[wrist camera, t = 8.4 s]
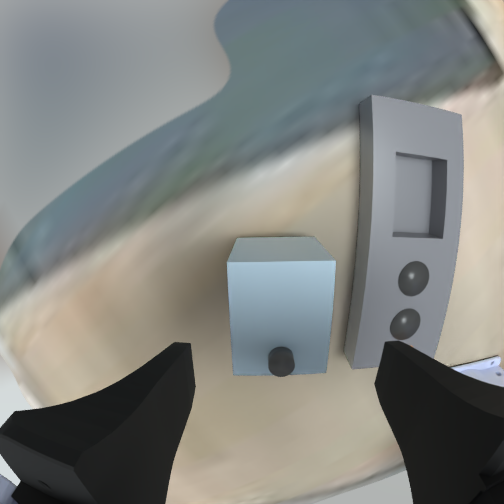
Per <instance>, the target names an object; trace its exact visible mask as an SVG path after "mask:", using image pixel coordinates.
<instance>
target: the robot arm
mask: <svg viewBox="0 0 504 504" xmlns="http://www.w3.org/2000/svg"><path fill="white" fill-rule="evenodd" d="M500 361H501V358H500V357H499V356H496V357H493V358H489V359H485V360H481V361H477V362H473V363H469V364H465V365H460V366H456V367H451V368H450V367H448V366H446V365H444V364H442V363H440V362H438V361H436V360H435V359H433V358H431V357H429V356H427V355H426V354H424V353H422V352H420V351H419V350H417V349H415V348H413V347H411V346H410V345H408V344H406V343H404V342H401V341H399V340H397V341H386V342H385V343H384V348H383V352H382V356H381V360H380V364H379V368H378V372H377V376H376V380H375V388H376V391H377V395H378V398H379V402H380V405H381V407H382V409H383V412H384V414H385V416H386V418H387V420H388V423H389V425H390V427H391V429H392V431H393V434H394V436H395V438H396V440H397V442H398V445H399V447H400V450H401V452H402V455H403V459H404V462H405V466H406V470H407V473H408V478H409V482H410V487H411V492H412V498H413V504H504V370H503V369H502V368H501V367H500V366H499V364H500ZM195 387H196V386H195V378H194V369H193V360H192V351H191V343H179V342H174V343H173V344H171V345H170V346H169V347H167V348H166V349H165V350H163V351H162V352H161V353H159V354H158V355H157V356H155V357H154V358H153V359H151V360H150V361H149V362H147V363H146V364H145V365H143V366H142V367H140V368H139V369H137V370H136V371H134V372H133V373H131V374H129V375H128V376H126V377H125V378H123V379H121V380H120V381H118V382H116V383H114V384H112V385H110V386H108V387H106V388H104V389H102V390H100V391H98V392H96V393H93V394H90V395H88V396H85V397H82V398H80V399H77V400H74V401H71V402H67V403H64V404H60V405H55V406H51V407H46V408H40V409H32V410H23V411H15V412H14V413H13V414H12V415H11V416H10V417H9V418H8V419H7V421H6V422H5V423H4V424H3V425H2V426H1V428H0V454H1V456H2V457H3V459H4V460H5V461H6V463H7V464H8V465H9V466H10V468H11V469H12V470H13V472H14V473H15V474H16V475H17V477H18V478H19V479H20V480H21V481H20V483H19V485H18V486H16V485H15V484H13V483H12V482H11V481H10V480H8V479H7V478H5V477H4V476H2V475H1V474H0V504H165V502H166V496H167V491H168V485H169V480H170V475H171V470H172V465H173V461H174V458H175V454H176V451H177V448H178V445H179V443H180V440H181V437H182V434H183V431H184V428H185V426H186V423H187V420H188V417H189V414H190V411H191V408H192V403H193V398H194V393H195Z"/></svg>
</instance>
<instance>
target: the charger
mask: <svg viewBox="0 0 504 504" xmlns="http://www.w3.org/2000/svg"><path fill="white" fill-rule="evenodd" d="M335 268H336V260H335V259H334V258H333V257H332V256H331V255H330V253H329V252H328V251H327V250H326V249H325V248H324V247H323V246H322V245H321V243H320V242H319V241H318V240H317V239H316V238H315V237H248V238H237V239H236V242H235V244H234V246H233V249H232V251H231V254H230V256H229V259H228V261H227V275H228V295H229V313H230V330H231V347H232V362H233V375H247V376H257V375H275V376H278V377H284V376H287V375H297V374H316V373H326V370H327V361H328V353H329V344H330V334H331V323H332V312H333V299H334V285H335Z"/></svg>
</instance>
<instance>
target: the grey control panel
mask: <svg viewBox="0 0 504 504" xmlns="http://www.w3.org/2000/svg"><path fill="white" fill-rule="evenodd" d="M359 116H360V195H359V218H358V234H357V248H356V260H355V270H354V280H353V289H352V298H351V306H350V313H349V320H348V327H347V334H346V341H345V347H344V353H345V355H346V357H347V360H348V362H349V364H350V367H351V369H362V368H372V367H379V364H380V360H381V356H382V352H383V348H384V343H385V342H386V341H397V340H399V341H401V342H404V343H406V344H408V345H410V346H411V347H413V348H415V349H417V350H419V351H420V352H422V353H424V354H426V355H427V356H429V357H431V358H433V359H434V355H435V352H436V349H437V345H438V342H439V338H440V335H441V331H442V327H443V323H444V320H445V315H446V311H447V307H448V302H449V298H450V293H451V288H452V283H453V277H454V271H455V265H456V259H457V252H458V244H459V236H460V227H461V215H462V201H463V173H464V156H463V129H462V115H461V114H457V113H454V112H450V111H446V110H443V109H439V108H435V107H431V106H427V105H422V104H418V103H414V102H409V101H404V100H399V99H394V98H388V97H382V96H376V95H370V96H369V97H368V98H366V99H365V100H364V101H362V102H361V103H360V104H359Z"/></svg>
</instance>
